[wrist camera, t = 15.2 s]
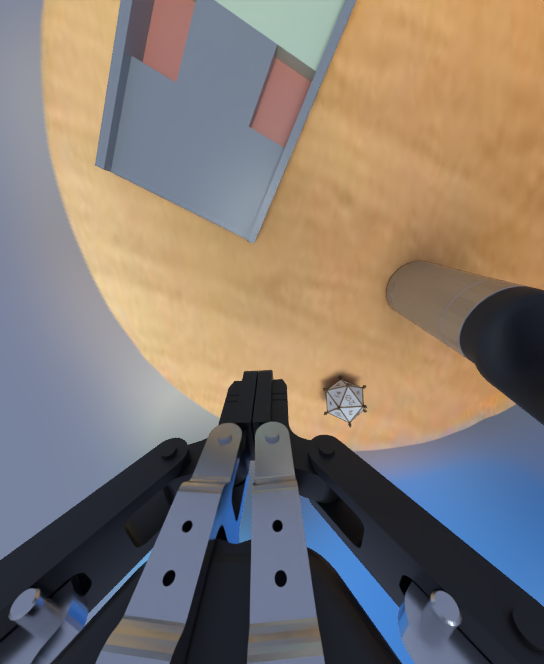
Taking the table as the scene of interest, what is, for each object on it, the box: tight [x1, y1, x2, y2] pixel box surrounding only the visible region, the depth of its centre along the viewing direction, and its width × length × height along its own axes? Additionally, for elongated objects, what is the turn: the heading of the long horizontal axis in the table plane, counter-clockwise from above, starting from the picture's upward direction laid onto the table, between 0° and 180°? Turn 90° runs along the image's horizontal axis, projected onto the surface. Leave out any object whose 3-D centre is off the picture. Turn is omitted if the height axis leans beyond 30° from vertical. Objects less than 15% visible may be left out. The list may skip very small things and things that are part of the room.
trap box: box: [95, 0, 356, 244], centre depth 27 cm, size 33×21×5 cm, turn 154°
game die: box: [322, 376, 367, 428], centre depth 47 cm, size 9×8×10 cm
